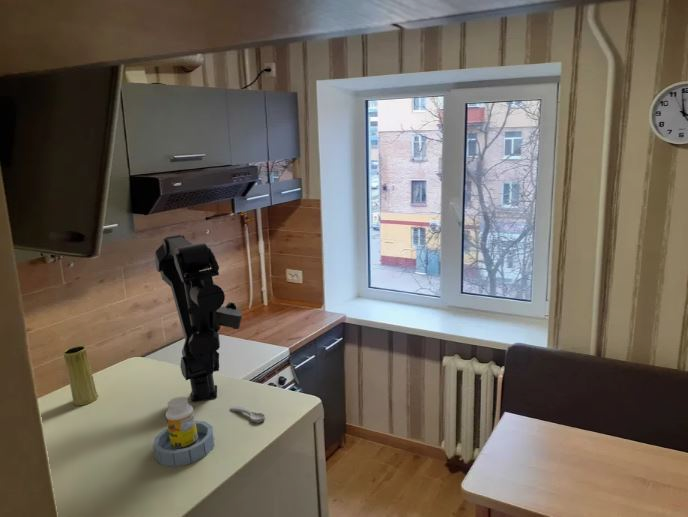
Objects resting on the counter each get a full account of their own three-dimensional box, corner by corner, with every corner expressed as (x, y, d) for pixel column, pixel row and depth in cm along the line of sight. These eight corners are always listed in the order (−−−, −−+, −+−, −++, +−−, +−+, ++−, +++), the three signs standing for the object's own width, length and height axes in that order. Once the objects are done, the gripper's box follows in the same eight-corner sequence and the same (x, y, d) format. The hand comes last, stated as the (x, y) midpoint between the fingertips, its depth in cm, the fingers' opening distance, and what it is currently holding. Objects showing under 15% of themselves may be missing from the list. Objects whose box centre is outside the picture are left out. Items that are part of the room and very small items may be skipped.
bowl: (159, 439, 115) (157, 427, 115) (215, 428, 118) (212, 416, 117) (152, 471, 104) (149, 458, 103) (213, 458, 106) (211, 445, 106)
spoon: (258, 426, 117) (257, 418, 117) (228, 414, 125) (226, 407, 125) (268, 420, 119) (267, 412, 119) (238, 409, 127) (236, 401, 127)
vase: (103, 394, 140) (92, 344, 137) (88, 406, 134) (76, 354, 131) (83, 394, 141) (71, 345, 138) (67, 406, 136) (55, 355, 132)
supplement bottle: (167, 445, 111) (159, 401, 109) (192, 434, 115) (184, 391, 112) (177, 455, 107) (169, 410, 105) (203, 444, 110) (195, 400, 108)
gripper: (238, 307, 109) (248, 376, 112) (236, 284, 127) (245, 344, 130) (182, 315, 107) (195, 385, 110) (189, 291, 124) (199, 352, 128)
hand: (211, 365), depth 120 cm, fingers open, 9 cm apart
